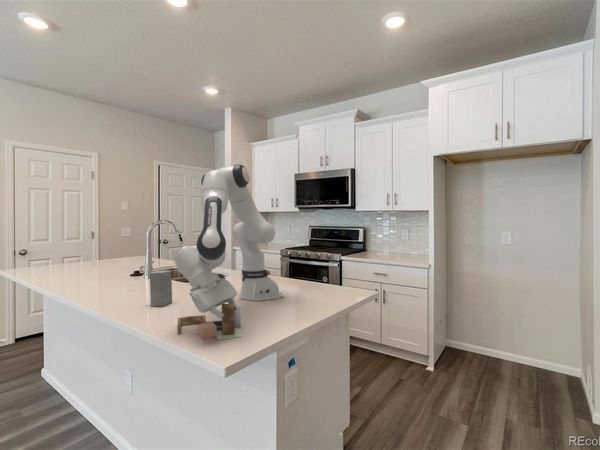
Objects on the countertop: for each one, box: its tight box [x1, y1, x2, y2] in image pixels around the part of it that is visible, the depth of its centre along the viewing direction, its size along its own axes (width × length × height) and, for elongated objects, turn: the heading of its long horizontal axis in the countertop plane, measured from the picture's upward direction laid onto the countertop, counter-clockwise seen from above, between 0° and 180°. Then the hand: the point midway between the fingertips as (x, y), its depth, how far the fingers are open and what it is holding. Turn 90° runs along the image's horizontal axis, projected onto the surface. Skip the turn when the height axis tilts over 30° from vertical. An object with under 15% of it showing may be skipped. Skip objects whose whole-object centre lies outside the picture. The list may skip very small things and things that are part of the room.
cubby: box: [176, 314, 207, 335], centre depth 123 cm, size 10×10×3 cm
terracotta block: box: [197, 321, 217, 340], centre depth 116 cm, size 5×5×4 cm
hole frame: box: [206, 319, 222, 330], centre depth 124 cm, size 8×8×2 cm
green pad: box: [216, 327, 242, 341], centre depth 117 cm, size 8×8×1 cm
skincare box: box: [149, 270, 173, 307], centre depth 155 cm, size 8×7×16 cm
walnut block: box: [221, 303, 235, 335], centre depth 117 cm, size 4×4×10 cm
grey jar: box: [234, 306, 241, 328], centre depth 126 cm, size 4×4×7 cm
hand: (229, 313), depth 117 cm, fingers open, 8 cm apart
